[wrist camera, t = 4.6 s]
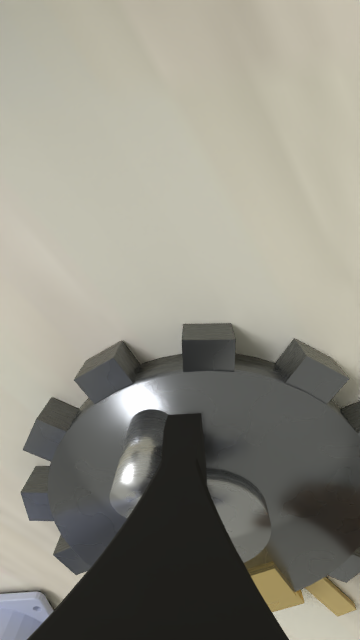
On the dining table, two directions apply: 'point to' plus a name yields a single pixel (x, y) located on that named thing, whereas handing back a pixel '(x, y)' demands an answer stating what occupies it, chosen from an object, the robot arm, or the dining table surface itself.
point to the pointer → (331, 597)
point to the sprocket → (210, 456)
